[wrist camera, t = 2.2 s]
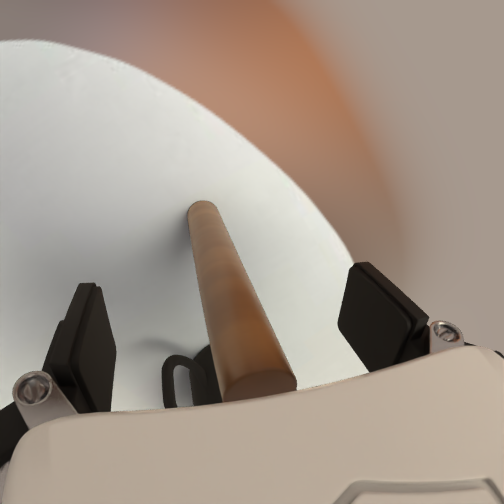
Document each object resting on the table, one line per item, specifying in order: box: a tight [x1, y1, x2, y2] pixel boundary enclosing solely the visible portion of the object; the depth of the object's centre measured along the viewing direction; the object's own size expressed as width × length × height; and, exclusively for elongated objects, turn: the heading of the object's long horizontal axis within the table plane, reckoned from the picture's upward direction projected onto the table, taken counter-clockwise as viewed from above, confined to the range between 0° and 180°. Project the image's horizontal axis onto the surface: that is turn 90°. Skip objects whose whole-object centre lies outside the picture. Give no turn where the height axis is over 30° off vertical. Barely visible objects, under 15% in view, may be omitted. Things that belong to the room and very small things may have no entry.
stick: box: [187, 201, 297, 403], centre depth 14 cm, size 2×2×14 cm
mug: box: [162, 345, 297, 409], centre depth 21 cm, size 8×12×10 cm
